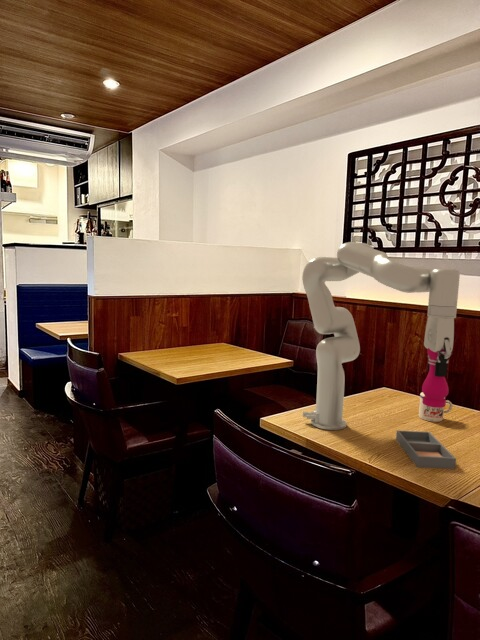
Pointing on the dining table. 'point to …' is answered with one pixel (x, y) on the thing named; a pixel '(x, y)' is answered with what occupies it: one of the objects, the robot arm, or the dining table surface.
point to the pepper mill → (434, 385)
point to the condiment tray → (425, 450)
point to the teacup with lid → (432, 411)
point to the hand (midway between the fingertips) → (436, 373)
